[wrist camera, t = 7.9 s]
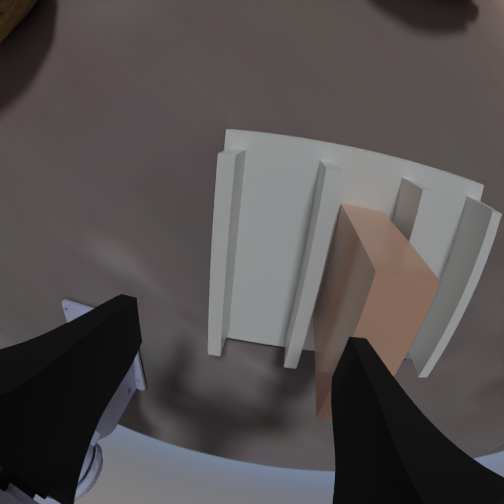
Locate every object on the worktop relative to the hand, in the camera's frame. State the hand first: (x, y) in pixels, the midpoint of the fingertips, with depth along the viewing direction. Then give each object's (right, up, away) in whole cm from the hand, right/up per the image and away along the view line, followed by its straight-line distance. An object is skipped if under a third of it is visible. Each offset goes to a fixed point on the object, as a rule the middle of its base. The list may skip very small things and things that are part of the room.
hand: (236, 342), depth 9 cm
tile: (+6, +2, +8) cm, 10 cm away
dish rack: (+6, +2, +9) cm, 11 cm away
